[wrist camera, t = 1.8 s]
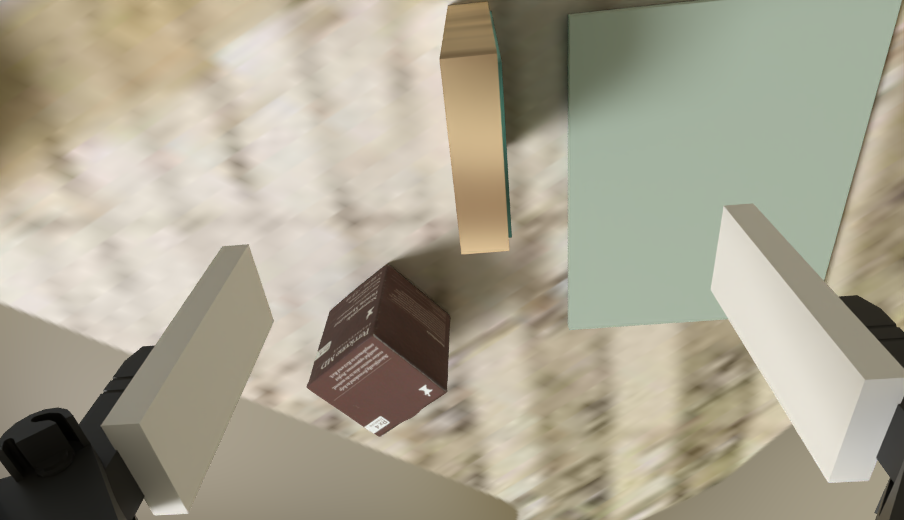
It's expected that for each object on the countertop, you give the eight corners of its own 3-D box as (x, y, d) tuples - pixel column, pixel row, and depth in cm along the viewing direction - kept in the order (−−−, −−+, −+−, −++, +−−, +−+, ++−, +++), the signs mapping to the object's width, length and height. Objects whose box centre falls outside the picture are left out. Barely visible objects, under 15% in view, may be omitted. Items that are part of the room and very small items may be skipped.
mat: (567, 14, 30) (569, 16, 29) (899, -22, 29) (907, -20, 28) (567, 324, 41) (569, 329, 40) (810, 307, 39) (815, 313, 39)
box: (389, 259, 38) (374, 332, 32) (453, 315, 40) (450, 392, 34) (327, 310, 40) (302, 387, 34) (391, 360, 43) (378, 440, 36)
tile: (448, 5, 30) (439, 59, 21) (490, 1, 30) (501, 52, 20) (462, 154, 34) (461, 254, 25) (500, 150, 34) (512, 250, 25)
